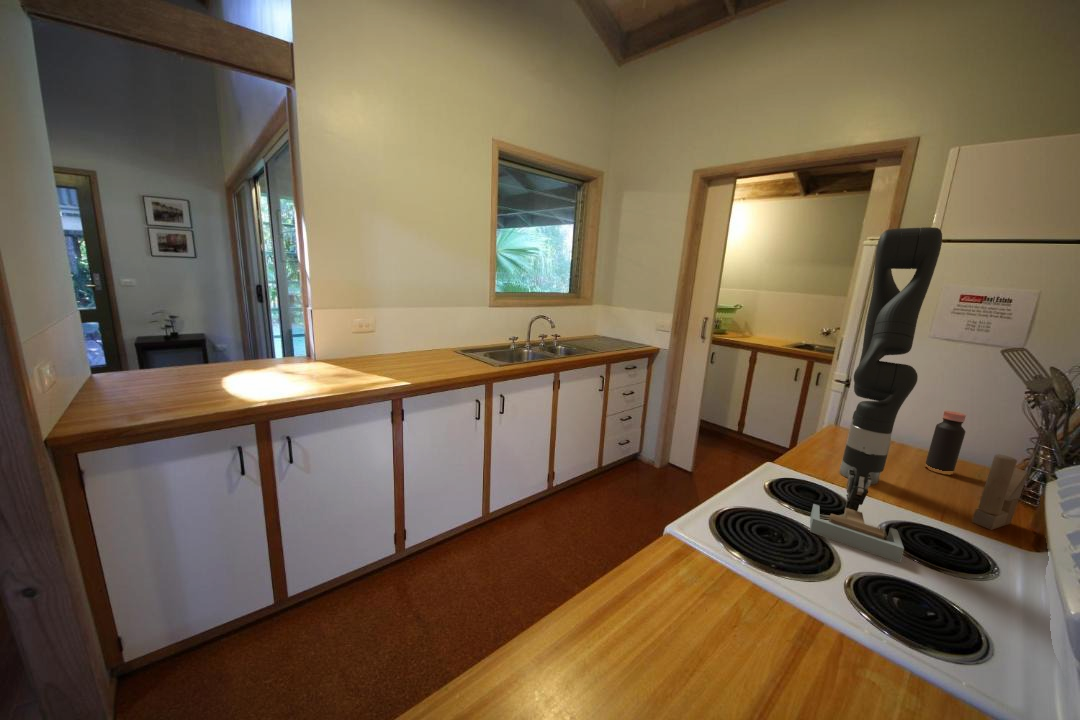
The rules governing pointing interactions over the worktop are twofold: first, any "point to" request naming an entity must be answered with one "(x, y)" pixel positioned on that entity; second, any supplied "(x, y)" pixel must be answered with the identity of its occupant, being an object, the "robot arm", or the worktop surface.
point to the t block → (856, 523)
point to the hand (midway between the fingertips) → (849, 515)
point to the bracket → (858, 537)
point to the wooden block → (1000, 493)
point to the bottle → (946, 442)
